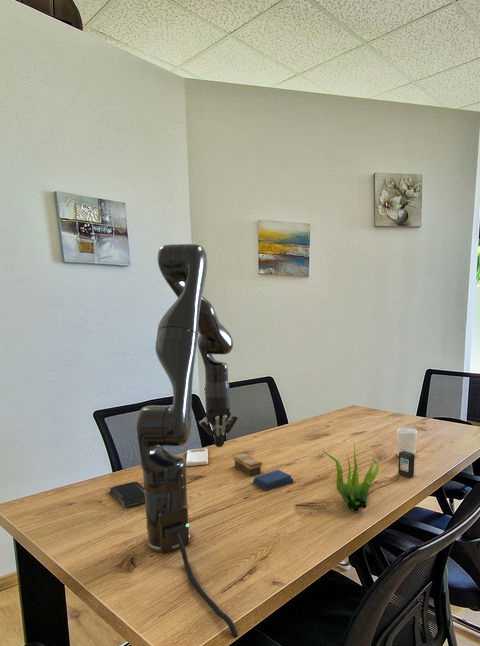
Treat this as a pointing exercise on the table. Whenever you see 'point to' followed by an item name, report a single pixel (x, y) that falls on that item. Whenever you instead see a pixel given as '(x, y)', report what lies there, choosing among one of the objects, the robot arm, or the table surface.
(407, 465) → the ink cartridge
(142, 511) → the table surface
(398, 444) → the white cup
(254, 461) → the tan two-tone block
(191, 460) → the phone case
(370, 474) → the decorative plant
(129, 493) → the phone
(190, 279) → the robot arm
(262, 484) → the folded cloth
